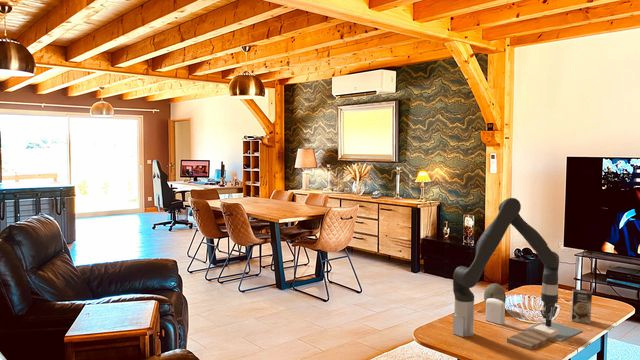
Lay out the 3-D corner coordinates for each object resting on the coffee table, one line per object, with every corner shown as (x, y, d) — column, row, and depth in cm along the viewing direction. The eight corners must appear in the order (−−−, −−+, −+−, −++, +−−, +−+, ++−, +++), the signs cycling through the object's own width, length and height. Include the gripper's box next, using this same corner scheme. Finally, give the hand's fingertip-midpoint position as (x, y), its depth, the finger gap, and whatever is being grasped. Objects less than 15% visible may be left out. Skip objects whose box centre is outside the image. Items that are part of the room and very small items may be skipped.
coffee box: (571, 321, 276) (572, 291, 275) (570, 317, 282) (571, 288, 281) (590, 323, 273) (592, 293, 271) (589, 319, 278) (590, 290, 277)
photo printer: (483, 320, 277) (484, 297, 276) (488, 318, 280) (489, 296, 279) (501, 325, 269) (502, 302, 268) (505, 323, 272) (506, 300, 271)
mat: (560, 341, 248) (560, 340, 248) (523, 330, 263) (523, 329, 263) (582, 331, 262) (582, 330, 262) (546, 321, 277) (546, 320, 276)
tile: (550, 338, 251) (550, 333, 251) (532, 332, 259) (532, 327, 258) (558, 334, 256) (558, 329, 256) (541, 329, 263) (541, 324, 263)
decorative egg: (502, 314, 287) (503, 287, 286) (481, 310, 293) (481, 284, 292) (507, 308, 297) (508, 282, 296) (486, 304, 303) (487, 279, 302)
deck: (530, 350, 238) (530, 346, 238) (506, 342, 247) (507, 338, 247) (552, 340, 250) (552, 335, 250) (529, 332, 260) (529, 328, 259)
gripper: (550, 296, 251) (548, 331, 252) (563, 291, 259) (562, 325, 260) (535, 292, 256) (534, 327, 258) (549, 288, 265) (547, 321, 266)
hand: (548, 326), depth 259 cm, fingers closed
